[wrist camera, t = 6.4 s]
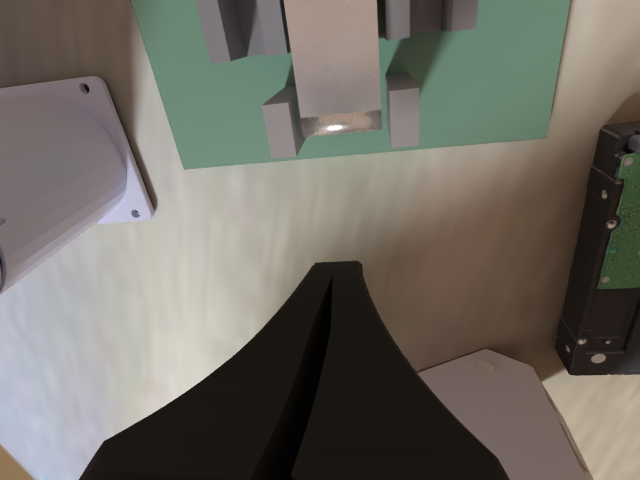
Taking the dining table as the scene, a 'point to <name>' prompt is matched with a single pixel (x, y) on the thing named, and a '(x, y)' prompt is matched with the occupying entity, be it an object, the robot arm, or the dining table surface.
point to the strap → (335, 65)
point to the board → (395, 77)
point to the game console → (509, 415)
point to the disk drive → (606, 264)
